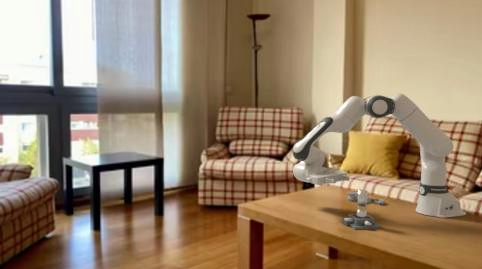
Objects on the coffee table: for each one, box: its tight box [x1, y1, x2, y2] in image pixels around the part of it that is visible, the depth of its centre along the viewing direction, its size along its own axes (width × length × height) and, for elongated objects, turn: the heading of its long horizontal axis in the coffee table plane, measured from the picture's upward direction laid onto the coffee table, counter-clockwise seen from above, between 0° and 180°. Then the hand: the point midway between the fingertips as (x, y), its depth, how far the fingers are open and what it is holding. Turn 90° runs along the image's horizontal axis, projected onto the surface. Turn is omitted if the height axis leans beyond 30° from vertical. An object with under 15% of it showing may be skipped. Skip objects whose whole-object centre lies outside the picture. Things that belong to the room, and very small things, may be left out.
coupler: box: [356, 188, 369, 219], centre depth 180 cm, size 4×4×14 cm
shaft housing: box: [341, 213, 382, 231], centre depth 180 cm, size 14×14×4 cm
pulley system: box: [347, 191, 386, 206], centre depth 224 cm, size 27×5×15 cm
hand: (341, 180), depth 189 cm, fingers open, 8 cm apart
